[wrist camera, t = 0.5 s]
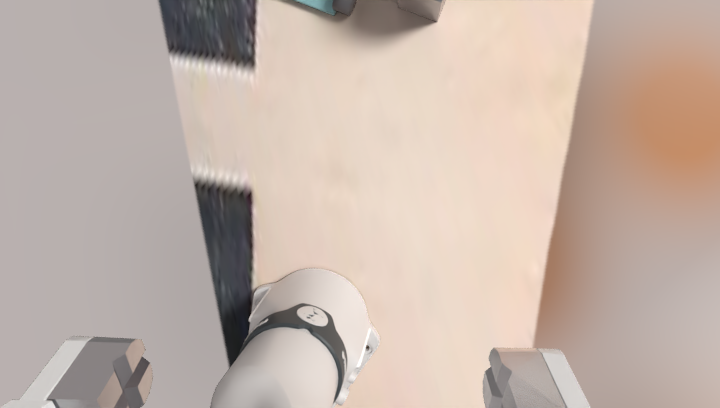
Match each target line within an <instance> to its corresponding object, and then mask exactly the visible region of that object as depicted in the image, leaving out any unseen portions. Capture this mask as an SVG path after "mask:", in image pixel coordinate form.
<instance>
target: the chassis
mask: <svg viewBox="0 0 720 408" xmlns="http://www.w3.org/2000/svg"><path fill="white" fill-rule="evenodd" d="M294 1H296V2H299V3H302V4H304V5H307V6H309V7H312V8H315V9H317V10H320V11H322V12H325V13H328V14H330V15H333V16H334V15H335V12H336V11H338V12H341V13H343V14H346V15H349V16H350V15H351V13H352V12H353V9H354V7H355V4H356V1H357V0H294Z"/></svg>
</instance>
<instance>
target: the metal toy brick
mask: <svg viewBox="0 0 720 408" xmlns="http://www.w3.org/2000/svg"><path fill="white" fill-rule="evenodd" d="M445 1H446V0H397V3H398V7H399V8H401V9H404V10H407V11H409V12H412V13H414V14H417V15H420V16H422V17H425V18H428V19H430V20H433V21H436V22H437V21H438V19H439V16H440V14H441V11H442V9H443V6H444V4H445Z"/></svg>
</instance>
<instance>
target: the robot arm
mask: <svg viewBox="0 0 720 408" xmlns="http://www.w3.org/2000/svg"><path fill="white" fill-rule="evenodd" d="M249 322H250V327H249V335H248V336H247V338H246V339H245V342H244V343H243V346H242V347H241V350H240V352H239V356H238V358H237V359H236V360H235V362H234V363H233V364H232V366H231V367H230V368H229V370H228V371H227V372H226V374H225V375H224V376H223V378H222V379H221V381H220V382H219V383H218V385H217V387H216V389H215V392H214V394H213V397H212V402H211V407H210V408H334V407H335V406H336V404H338V405H342V404H343V403H344V402H345V400H346V398H347V396H348V393H349V390H348V388H349V386H350V385H351V384H353V382H354V381H355V379H356V377H357V375H358V374H359V373H360V371H361V370H362V368H363V367H364V366H365V364H366V363H367V361H368V360H369V359H370V357H371V356H372V355H373V353H374V352H375V350H376V349H377V348H378V346H379V343H380V336H379V334H378V332H377V330H376V329H375V328H374V326H373V325H372V324H371V322H370V320H369V317H368V312H367V308H366V305H365V302H364V300H363V298H362V296H361V294H360V293H359V291H358V290H357V289H356V288H355V287H354V285H353V284H352V283H350V282H349V281H348V280H347V279H345V278H344V277H342V276H341V275H339V274H337V273H334V272H332V271H329V270H325V269H318V268H309V269H303V270H299V271H296V272H293V273H291V274H289V275H288V276H286V277H285V278H283V279H282V280H280V281H278V282H276V283H271V284H266V285H262V286H259V287H258V288H257V289H256V291H255V292H254V296H253V304H252V312H251V315H250V317H249ZM366 345H368V346H369V348H366ZM145 350H146V349H145V347H144V344H143V342H142V340H140V339H126V338H125V339H124V338H106V337H84V336H72V337H70V338H69V339H67V340H66V341H65V342H64V343H63V344H62V345H61V347H60V348H59V349H58V351H57V352H56V353H55V354H54V356H53V357H52V358H51V359H50V361H49V362H48V363H47V365H46V366H45V367H44V368H43V370H42V371H41V372H40V374H39V375H38V376H37V378H36V379H35V380H34V381H33V383H32V384H31V385H30V387H29V388H28V389H27V390H26V392H25V393H24V394H23V395H22V397H21V398H20V399H19V400H11V401H9V402H8V403H6V404H5V405H3V406H1V407H0V408H140V407H142V406H143V405H144V404H145V401H146V399H147V397H148V395H149V393H150V388H151V384H152V379H153V378H152V368H151V365H150V362H148V361H147V360H146V359H144V358H143V357H142V355H143V354H144V352H145ZM489 361H490V365H491V367H490V368H489V369H488V370H486V371H485V374H484V379H483V397H484V403H485V407H486V408H591V407H590V405H589V403H588V401H587V400H586V397H585V395H584V393H583V392H582V389H581V387H580V386H579V383H578V382H577V380H576V378H575V376H574V374H573V372H572V370H571V368H570V366H569V364H568V362H567V360H566V358H565V356H564V354H563V353H562V352H561V351H560V350H559V349H535V348H493V349H492V350H491V352H490V356H489Z"/></svg>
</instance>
